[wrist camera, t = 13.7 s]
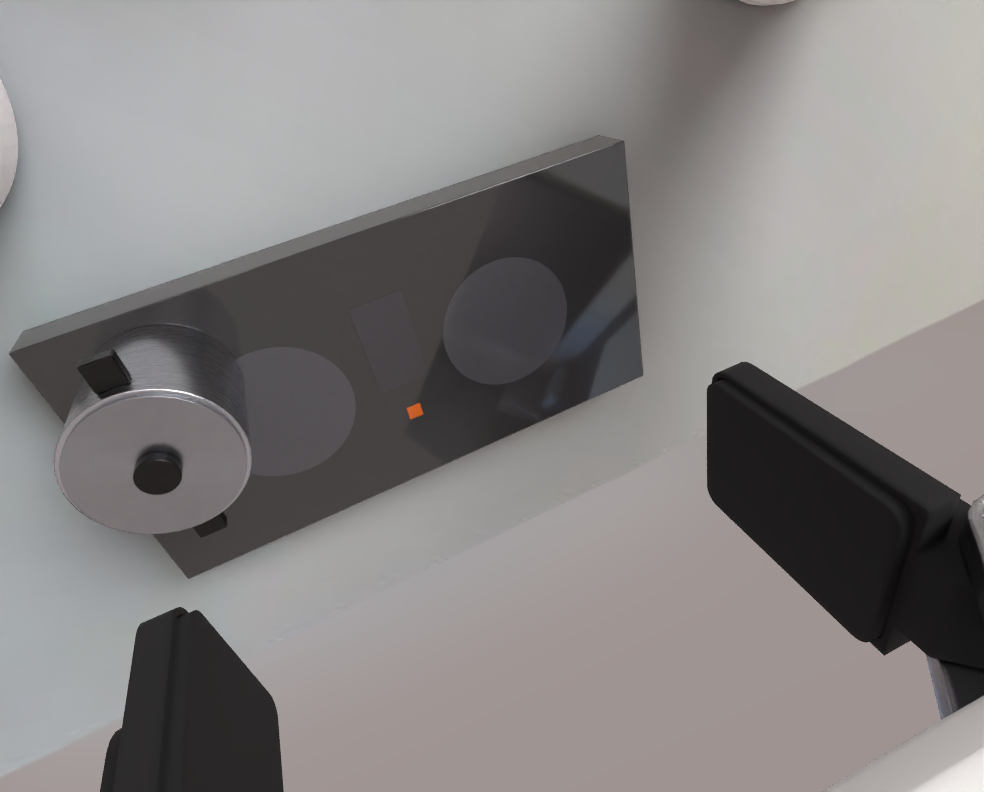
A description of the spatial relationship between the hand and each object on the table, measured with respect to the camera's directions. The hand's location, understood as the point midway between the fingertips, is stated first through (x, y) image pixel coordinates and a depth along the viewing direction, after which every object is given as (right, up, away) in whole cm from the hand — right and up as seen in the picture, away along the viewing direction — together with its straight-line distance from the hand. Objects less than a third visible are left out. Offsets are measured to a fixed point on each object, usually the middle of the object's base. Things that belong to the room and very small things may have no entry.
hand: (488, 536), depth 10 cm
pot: (-15, +3, +17) cm, 23 cm away
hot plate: (-6, +5, +24) cm, 25 cm away
